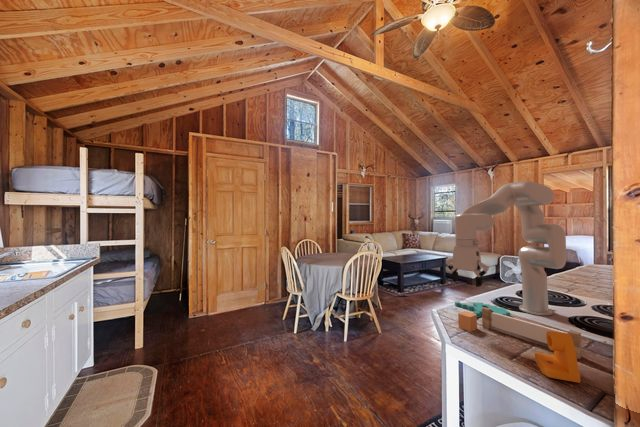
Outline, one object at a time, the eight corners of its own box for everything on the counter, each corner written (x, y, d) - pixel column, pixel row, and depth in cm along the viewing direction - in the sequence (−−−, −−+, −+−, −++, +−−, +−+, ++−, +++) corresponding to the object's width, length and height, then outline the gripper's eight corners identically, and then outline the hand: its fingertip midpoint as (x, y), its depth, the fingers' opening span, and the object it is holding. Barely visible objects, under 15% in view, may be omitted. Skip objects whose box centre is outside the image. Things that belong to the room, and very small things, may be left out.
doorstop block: (465, 324, 112) (464, 311, 112) (477, 328, 108) (476, 314, 108) (458, 327, 110) (458, 313, 110) (470, 331, 105) (470, 317, 105)
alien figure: (468, 321, 117) (518, 323, 113) (468, 316, 117) (518, 318, 113) (454, 305, 137) (496, 307, 133) (454, 301, 137) (496, 303, 133)
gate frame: (485, 325, 111) (485, 306, 111) (582, 356, 85) (581, 332, 85) (482, 327, 109) (481, 308, 109) (579, 359, 84) (578, 334, 84)
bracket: (533, 360, 84) (532, 323, 84) (562, 365, 81) (561, 326, 81) (547, 379, 74) (545, 337, 74) (580, 385, 71) (578, 342, 71)
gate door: (493, 325, 107) (493, 312, 107) (569, 349, 87) (568, 333, 87) (490, 326, 106) (490, 313, 106) (567, 351, 86) (566, 334, 86)
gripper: (492, 244, 104) (493, 286, 103) (451, 241, 118) (452, 278, 118) (482, 245, 100) (483, 289, 99) (441, 242, 114) (442, 281, 114)
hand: (466, 283), depth 109 cm, fingers open, 9 cm apart
